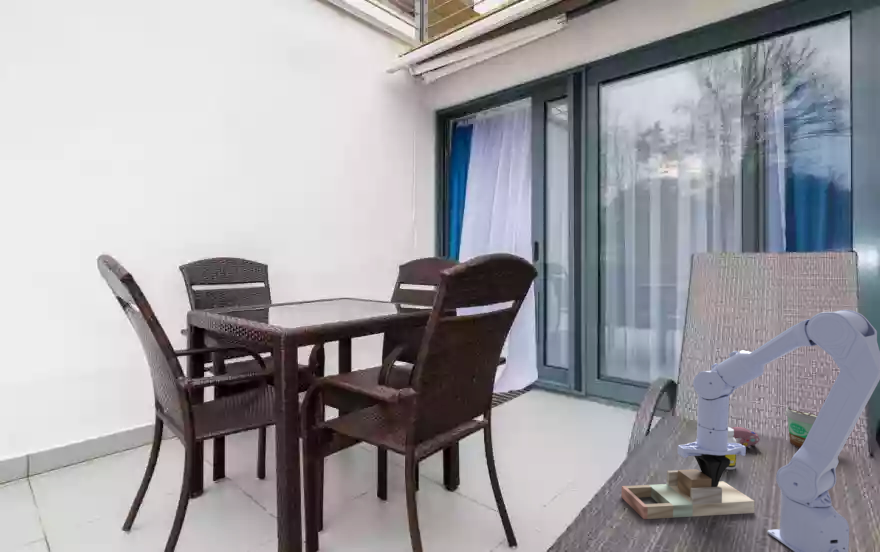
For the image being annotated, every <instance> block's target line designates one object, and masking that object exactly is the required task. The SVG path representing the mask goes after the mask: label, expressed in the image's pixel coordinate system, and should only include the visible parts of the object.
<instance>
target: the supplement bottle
mask: <svg viewBox="0 0 880 552" xmlns="http://www.w3.org/2000/svg"><path fill="white" fill-rule="evenodd" d="M733 436H734V429H732V428H731V427H729V426H728V443H738V441H736V440H737V438H736V439H735V438H734V437H733ZM726 457H727V458H728V459H730V465H729V466H728V467H727V468H726V469H725V470H735V469H736V468H737V454H732V455H726Z"/></svg>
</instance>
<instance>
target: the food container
mask: <svg viewBox="0 0 880 552" xmlns="http://www.w3.org/2000/svg"><path fill="white" fill-rule="evenodd" d="M784 415H785V416H786V417H787V422H788V435H789V436H788V437H789V443H790V444H791V445H792V446H794V447H797V448H799V449H800V448H801V446H802V445H803V443H804V441H805V439H806V437H807V435H808V433H809V431H810V429H811V428H812V426H813V424H814V422H815V420H816V418H817V416H818V415H817V414H814V413H810V412H805V411H804V412H803V411H799V410H796V409H791V406H790V405H788V406H787V407H786V409H785V412H784Z"/></svg>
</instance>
